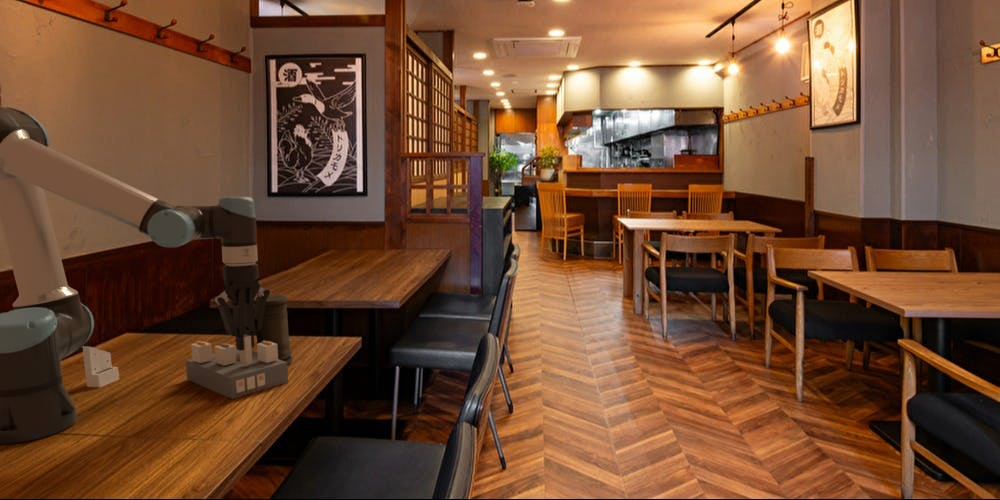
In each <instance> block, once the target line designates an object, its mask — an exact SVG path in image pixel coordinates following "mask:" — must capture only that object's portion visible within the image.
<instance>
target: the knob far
mask: <svg viewBox="0 0 1000 500" xmlns="http://www.w3.org/2000/svg"><path fill="white" fill-rule="evenodd" d="M190 347H191V359H192V360H193V361H196V362H198V363H203V362H207V361H211V360H213V359H212V353H213V348H212V347H213V346H212V344H211V343H210V342H206V341H200V340H197V341H196V342H195V343H191V345H190Z"/></svg>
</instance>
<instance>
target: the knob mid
mask: <svg viewBox="0 0 1000 500" xmlns="http://www.w3.org/2000/svg"><path fill="white" fill-rule="evenodd" d="M235 348H236V345H233V344H229V343H224V342H221V343H219V345H215V346H214V353H215V361H216V363H218V364H221V365H228V364H232V363H236V354H235Z"/></svg>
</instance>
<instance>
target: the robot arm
mask: <svg viewBox="0 0 1000 500" xmlns="http://www.w3.org/2000/svg"><path fill="white" fill-rule="evenodd" d="M50 142H51V141H50V137H49V134H48V131H47V129H46V128H45V126H44V124H42V122H41V121H40V120H38V119H37V118H36V117H34V116H33V115H31V114H29V113H26V112H24V111H23V110H20V109H17V108H13V107H9V106H8V107H5V106H0V227H1V230H2V234H3V238H4V242H5V246H6V249H7V253H8V257H9V260H10V265H11V267H12V271H13V272H12V273H13V275H14V279H15V283H16V286H17V290H18V297H17V298H16V300H15V301H13V303H12V307H13V309H12V310H9V311H8V312H1V313H0V445H10V444H19V443H20V444H21V443H25V442H30V441H34V440H39V439H43V438H45V437H48V436H52V435H55V434H57V433H60V432H62V431H64V430H66V429H68V428H70V427H71V426H73V425H74V424H75V423H76V422H77V421H78V414H77V408H76V405H75V403H74V402H73V400H72V398H71V397H70V395H69V393H68V391H67V389H66V387H65V386H64V382H63V375H62V374H63V372H62V363H61V362H62V360H63V359H65V358H66V357H68V356H70V355H72V354H74V353H76V352H77V351H79V350H80V349H81V348H83V346H84V345H85V344H86V343H87V342H88V341H89V340H90V338H91V336H92V334H93V332H94V329H95V328H94V327H95V320H94V316H93V314H92V311H90V309H89V307H87V305H84V304H83V303H82V302H81V298H80V294H79V292H78V290H76V289H74V288H72V287H70V286H69V284H68V281H67V277H66V273H65V269H64V265H63V262H62V261H63V260H62V256H61V254H60V249H59V245H58V240H57V237H56V234H55V229H54V225H53V220H52V217H51V214H50V208H49V205H48V201H47V197H46V193H45V190H46V191H47V192H50V193H53V194H54V195H56V196H59V197H61V198H64V199H66V200H69V201H70V202H72V203H74V204H77V205H79V206H81V207H84V208H86V209H88V210H91V211H92V212H95V213H97V214H99V215H102V216H104V217H106V218H108V219H111V220H113V221H115V222H117V223H120V224H122V225H124V226H126V227H128V228H131V229H133V230H135V231H137V232H140V233H142V234H144V235H145V236H149V238H150V239H151V241H153V242H154V243H155V244H156V245H158V246H161V247H163V248H178V247H181V246H184V245H186V244H188V243H189V242H192V241H195V240H209V239H214V240H215V239H220V241H221V256H222V259H221V260H222V263H223V264H224V265H223V266H222V270H223V272H222V273H223V282H224V285H223V289H222V292H221V293H219V295H218V296H214V297H213V298H212V301H213V302H214V303H215V304H216V305H217V307H218V310H219V313H220V317H221V319H222V322H223V326H224V329H225V332H226V334H227V335H228V336H231V337H235V348H237V350H240V362H242V363H244V364H249V363H252V351H253V350H252V348H255V336H257V331H260V330H261V329H262V324H263V318H264V312H265V306H266V300H267V298H268V296H269V295H271V290H270V289H266V288H264V287H261V284H260V282H259V277H260V274H259V273H260V271H259V264H258V263H257V262H258V260H259V258H258V255H259V254H258V241H257V239H258V236H257V215H256V209H255V201H254V199H253V198H252V197H251V196H222V197H220V198H219V199H218V204H217V205H172V204H170V203H167V202H165V201H163V200H161V199H159V198H157V197H155V196H153V195H151V194H149V193H146V192H144V191H142V190H139V189H138V188H137V187H133V186H132V185H129V184H127V183H125V182H123V181H121V180H119V179H116V178H115V177H112V176H111V175H108V174H106V173H104V172H102V171H99V170H98V169H96V168H93V167H91V166H89V165H87V164H84V163H83V162H81V161H78V160H76V159H74V158H72V157H70V156H67V155H66V154H64V153H61V152H60V151H57V150H55V149H53V148H51V147H50ZM255 298H256V304H254V299H255ZM228 300H229V301H230V302H231V303H230V304H231V305H230V306H231V307H232V312H231V308H230V306H229V304H228Z"/></svg>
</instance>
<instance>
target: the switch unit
mask: <svg viewBox="0 0 1000 500" xmlns="http://www.w3.org/2000/svg"><path fill="white" fill-rule="evenodd" d="M235 354H236V363H232V364H228V365H221V364H218V363H216V361H215V352H212V359H213V360H211V361H207V362H203V363H198V362H196V361H193V360H192V358H188V359H185V366H186V367H185V368H186V379H187V380H188V381H189V382H192V383H193V384H194V383H195V384H196V385H199V386H201V387H203V388H205V389H207V390H210V391H212V392H214V393H217V394H220V395H221V396H223V397H226V398H228V399H230V398H231V400H235V399H238V398H237V397H239V398H241V396H242V397H244V396H243V395H245V396H247V395H246V394H248V395H250V394H249V393H251V394H254V393H253V392H255V393H257V392H256V391H258V392H261V391H264V390H268V389H271V388H273V386H274V387H278V386H280V384H281V385H284V384H287V383H289V373H288V365H287V362H285V361H282V360H279V359H278V360H276V361H272V362H269V363H265V362H262V361H260V360H258V353H257V351H254V350H252V363H249V364H244V363H242V362H240V350H237V348H236V347H235ZM270 387H271V388H270ZM267 388H268V389H267ZM263 389H264V390H263ZM260 390H261V391H260ZM234 398H235V399H234Z"/></svg>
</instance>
